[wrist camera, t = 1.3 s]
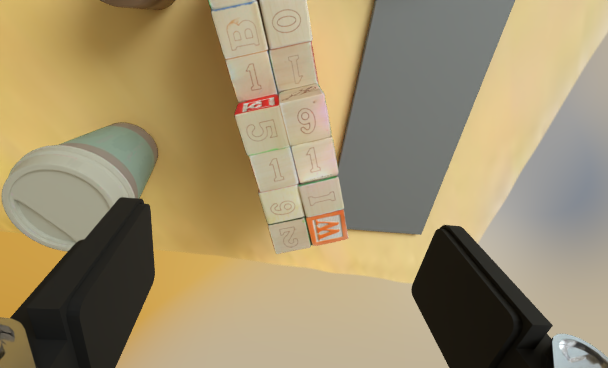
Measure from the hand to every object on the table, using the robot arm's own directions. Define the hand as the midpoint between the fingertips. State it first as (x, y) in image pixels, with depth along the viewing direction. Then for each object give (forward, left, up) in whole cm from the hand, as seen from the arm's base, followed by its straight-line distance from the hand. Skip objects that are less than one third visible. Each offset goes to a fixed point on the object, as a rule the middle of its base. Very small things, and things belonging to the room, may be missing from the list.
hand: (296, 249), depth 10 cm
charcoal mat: (+2, +14, -24) cm, 28 cm away
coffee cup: (+8, -15, -24) cm, 30 cm away
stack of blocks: (0, 0, -25) cm, 25 cm away
